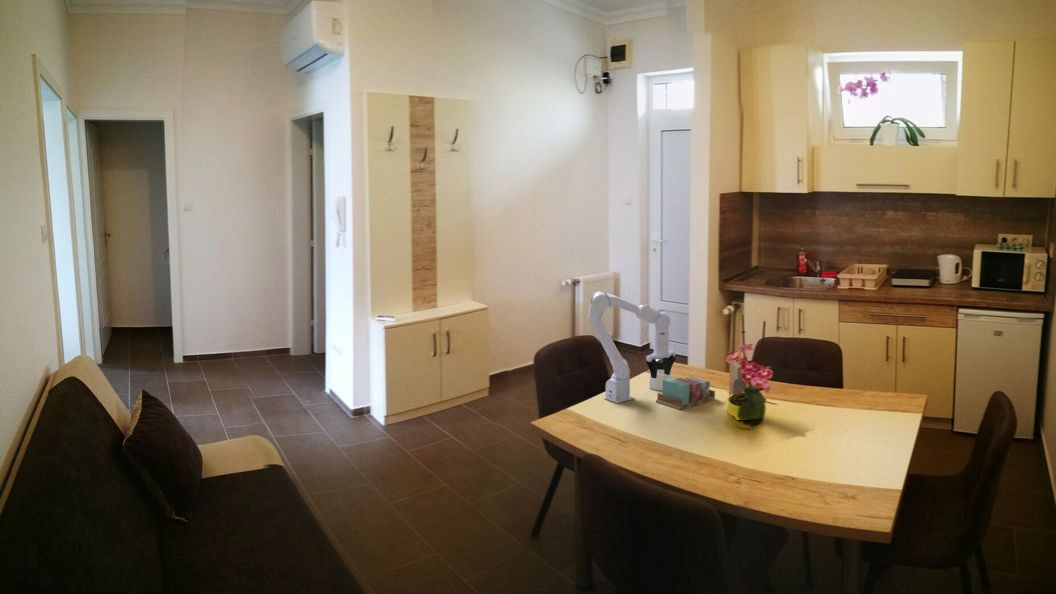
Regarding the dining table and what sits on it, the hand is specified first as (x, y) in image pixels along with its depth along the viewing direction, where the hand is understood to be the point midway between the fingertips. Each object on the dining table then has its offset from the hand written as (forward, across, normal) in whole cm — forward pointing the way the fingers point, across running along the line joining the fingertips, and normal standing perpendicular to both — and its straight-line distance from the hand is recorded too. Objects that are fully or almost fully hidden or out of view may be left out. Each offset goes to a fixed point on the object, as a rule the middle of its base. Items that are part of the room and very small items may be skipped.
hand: (660, 376), depth 283 cm
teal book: (+8, 0, -8) cm, 12 cm away
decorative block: (+10, +8, -32) cm, 34 cm away
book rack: (+9, +6, -8) cm, 14 cm away
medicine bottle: (+10, +11, +10) cm, 18 cm away
